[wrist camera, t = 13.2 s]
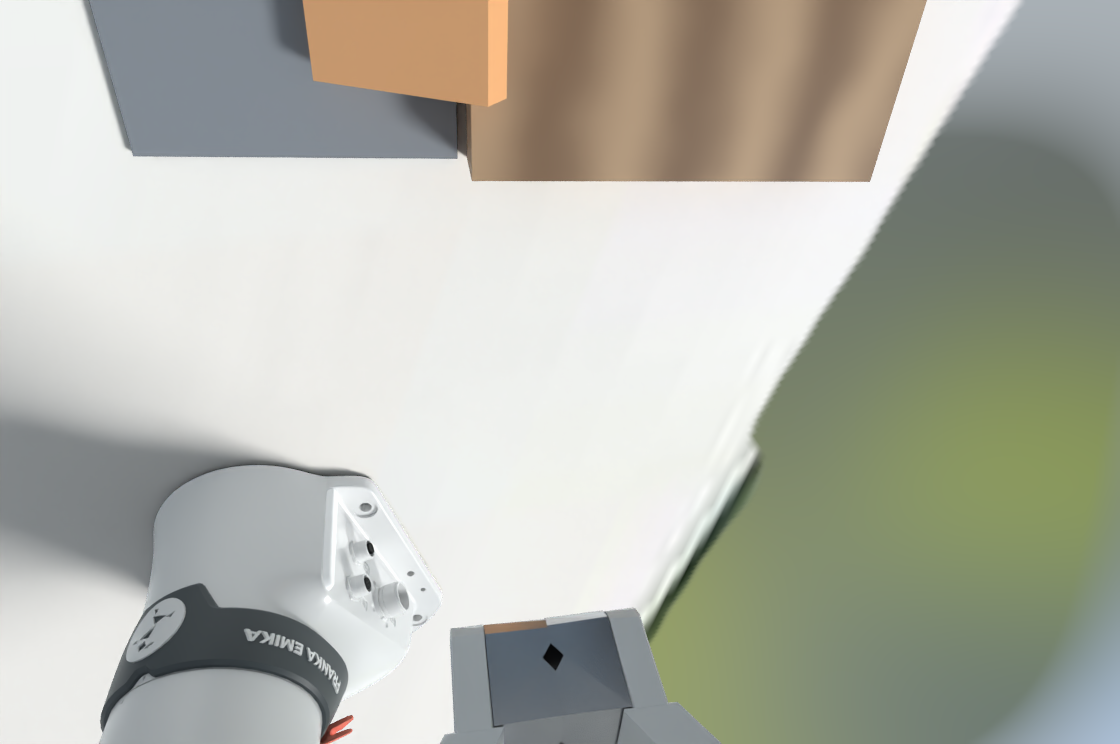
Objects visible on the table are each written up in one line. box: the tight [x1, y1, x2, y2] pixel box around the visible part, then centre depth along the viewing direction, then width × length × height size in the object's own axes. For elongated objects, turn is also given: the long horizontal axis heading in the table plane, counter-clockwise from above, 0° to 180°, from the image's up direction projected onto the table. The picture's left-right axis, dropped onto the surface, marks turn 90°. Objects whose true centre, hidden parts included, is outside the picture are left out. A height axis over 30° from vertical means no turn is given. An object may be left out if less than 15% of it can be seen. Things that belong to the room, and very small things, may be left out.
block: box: [303, 0, 508, 107], centre depth 30 cm, size 9×6×2 cm
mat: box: [89, 0, 457, 159], centre depth 32 cm, size 16×14×1 cm
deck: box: [466, 0, 927, 182], centre depth 34 cm, size 22×14×4 cm, turn 86°
